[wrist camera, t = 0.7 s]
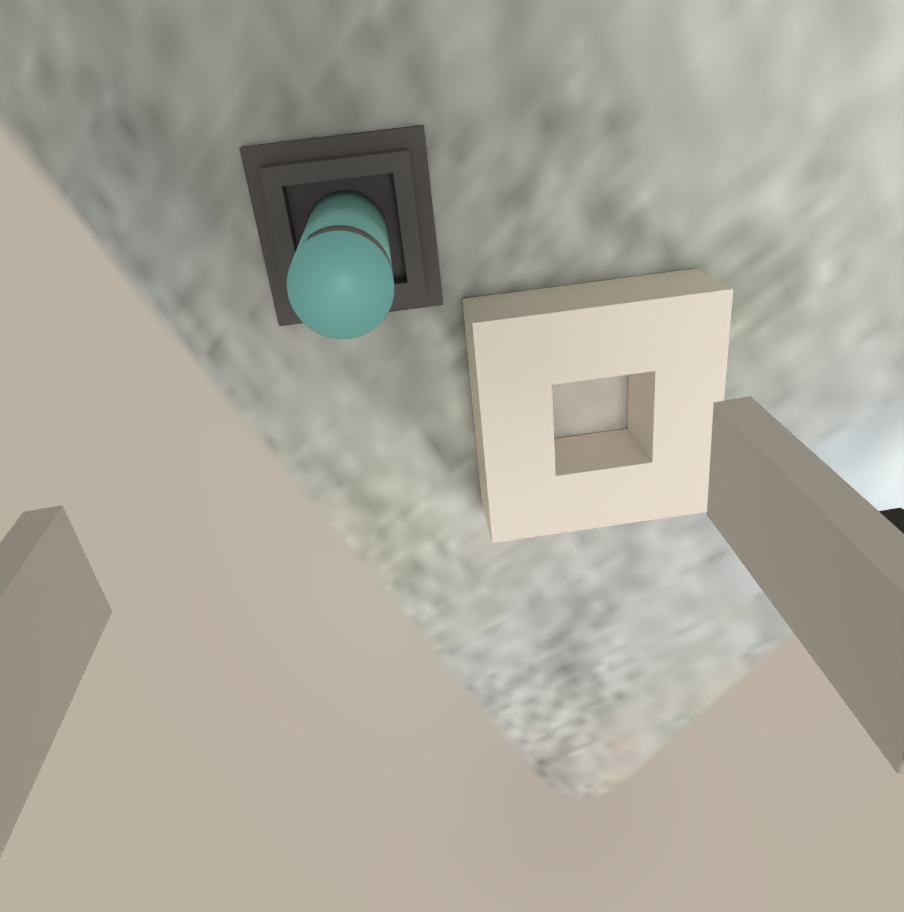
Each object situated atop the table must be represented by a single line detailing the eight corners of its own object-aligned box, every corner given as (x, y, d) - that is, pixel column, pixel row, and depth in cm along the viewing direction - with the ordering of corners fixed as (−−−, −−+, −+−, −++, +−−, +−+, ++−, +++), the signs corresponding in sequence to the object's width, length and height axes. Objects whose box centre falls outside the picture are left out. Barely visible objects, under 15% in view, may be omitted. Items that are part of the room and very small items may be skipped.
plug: (300, 195, 33) (276, 240, 24) (380, 185, 33) (386, 226, 24) (316, 275, 34) (298, 345, 25) (392, 265, 34) (400, 331, 26)
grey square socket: (241, 146, 32) (235, 150, 30) (422, 125, 32) (425, 128, 31) (280, 322, 36) (276, 333, 34) (442, 301, 36) (445, 311, 34)
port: (462, 298, 36) (472, 323, 33) (697, 268, 37) (733, 289, 33) (481, 503, 42) (492, 542, 38) (685, 474, 42) (714, 510, 39)
